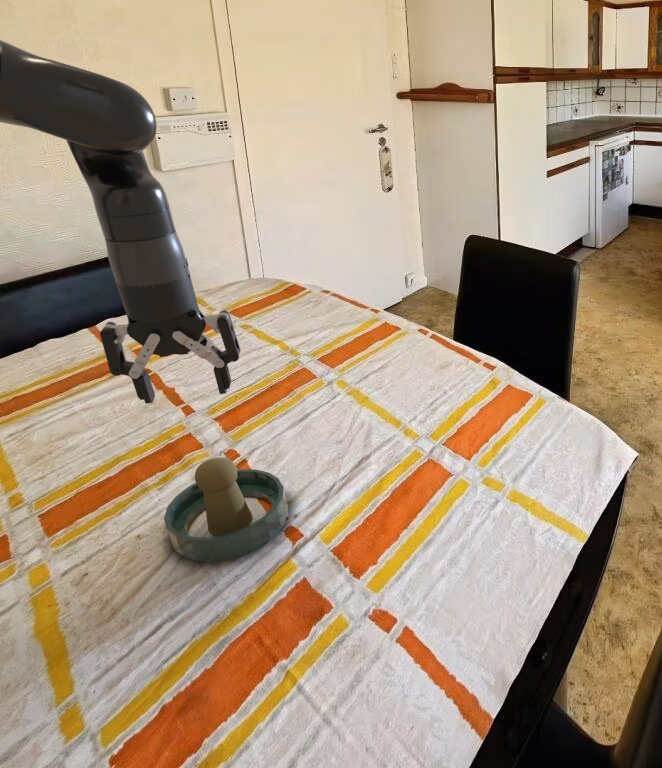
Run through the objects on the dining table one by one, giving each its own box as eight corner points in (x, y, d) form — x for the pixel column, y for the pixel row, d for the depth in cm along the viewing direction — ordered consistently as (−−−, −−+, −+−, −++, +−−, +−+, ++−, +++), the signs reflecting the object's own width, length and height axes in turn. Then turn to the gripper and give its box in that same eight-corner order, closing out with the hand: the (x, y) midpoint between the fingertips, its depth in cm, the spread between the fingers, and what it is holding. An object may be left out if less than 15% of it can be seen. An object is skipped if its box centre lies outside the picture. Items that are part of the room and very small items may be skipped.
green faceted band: (164, 580, 80) (153, 550, 78) (184, 506, 93) (175, 479, 91) (288, 555, 84) (281, 526, 81) (290, 488, 97) (284, 461, 94)
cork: (258, 532, 87) (240, 468, 82) (211, 548, 84) (190, 483, 79) (250, 508, 92) (233, 446, 86) (206, 522, 89) (186, 459, 84)
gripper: (71, 289, 66) (118, 419, 74) (215, 276, 70) (245, 401, 78) (91, 268, 73) (132, 390, 80) (222, 257, 76) (249, 375, 84)
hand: (188, 395), depth 79 cm, fingers open, 8 cm apart
